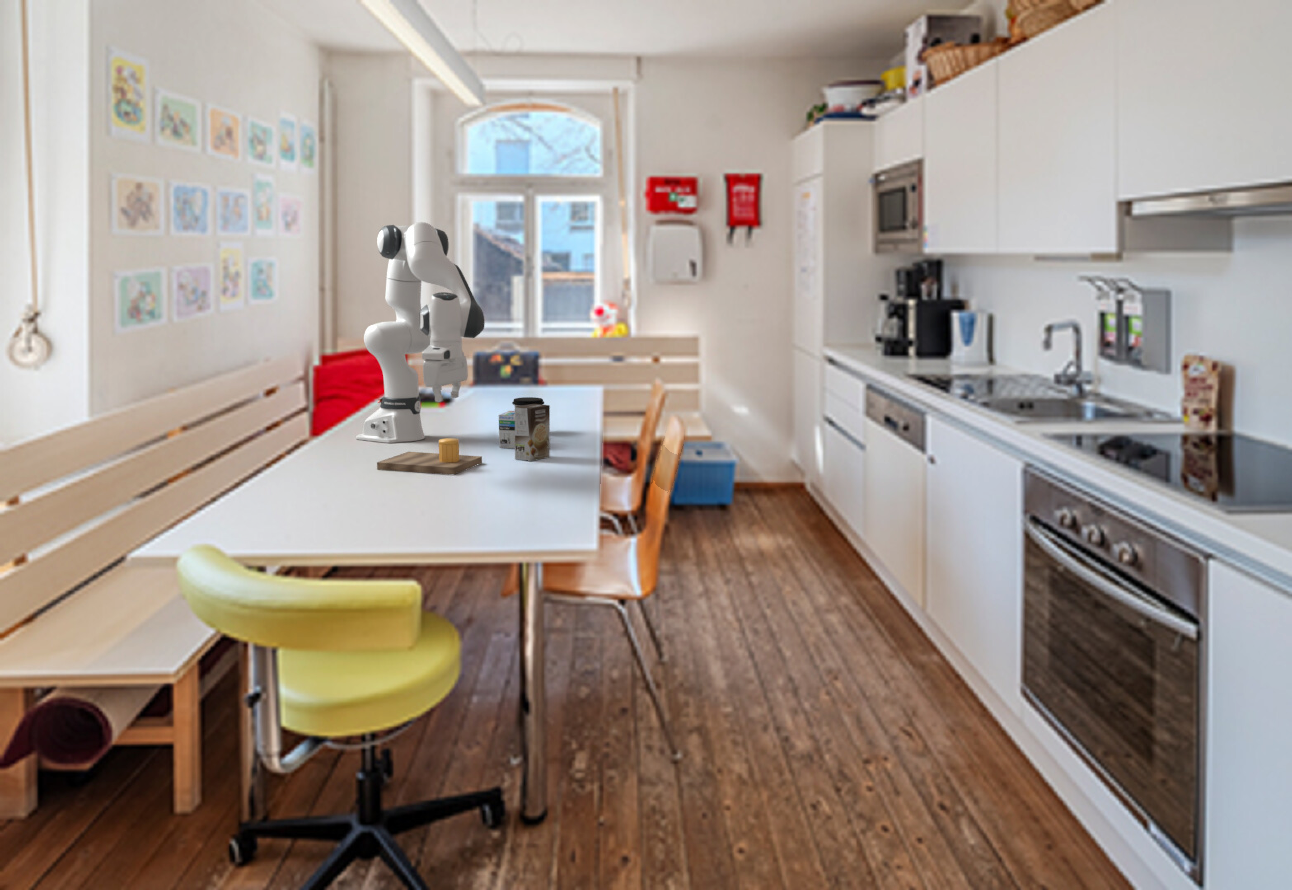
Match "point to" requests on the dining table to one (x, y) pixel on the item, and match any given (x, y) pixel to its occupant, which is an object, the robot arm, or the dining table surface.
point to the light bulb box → (507, 430)
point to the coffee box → (532, 432)
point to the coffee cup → (527, 401)
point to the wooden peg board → (427, 463)
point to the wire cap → (449, 450)
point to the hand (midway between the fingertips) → (447, 399)
